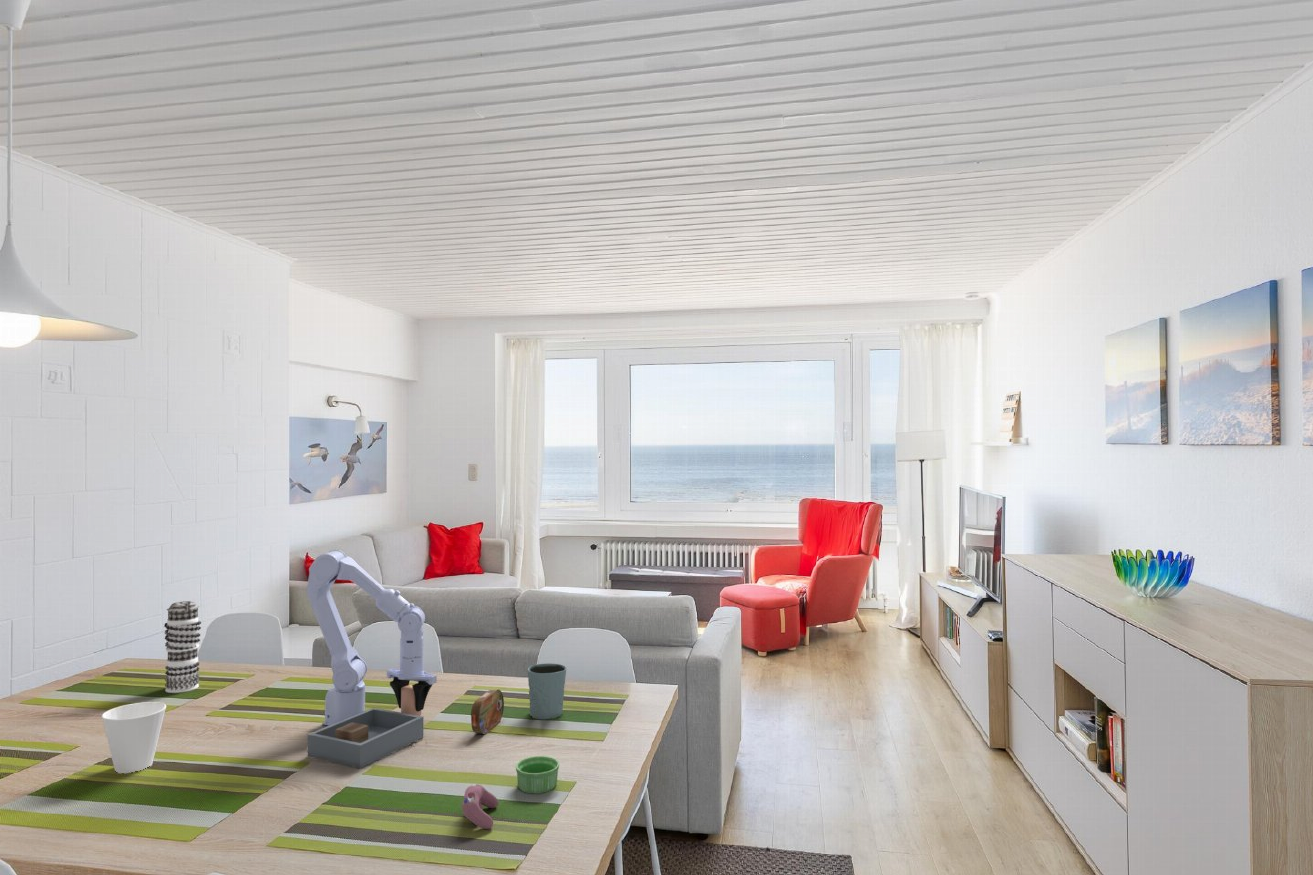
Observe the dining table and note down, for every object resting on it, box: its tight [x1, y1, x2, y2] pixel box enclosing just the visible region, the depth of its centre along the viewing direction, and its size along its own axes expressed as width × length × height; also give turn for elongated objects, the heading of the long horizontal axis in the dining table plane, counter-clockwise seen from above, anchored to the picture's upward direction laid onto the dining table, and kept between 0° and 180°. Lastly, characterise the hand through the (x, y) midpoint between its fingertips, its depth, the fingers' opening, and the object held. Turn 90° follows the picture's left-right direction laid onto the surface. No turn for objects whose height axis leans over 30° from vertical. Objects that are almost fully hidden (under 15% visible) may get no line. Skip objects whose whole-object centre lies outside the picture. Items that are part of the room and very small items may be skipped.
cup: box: [101, 701, 167, 774], centre depth 169 cm, size 12×12×12 cm
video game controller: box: [461, 782, 499, 830], centre depth 145 cm, size 10×5×7 cm, turn 6°
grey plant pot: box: [527, 662, 567, 720], centre depth 203 cm, size 10×10×12 cm
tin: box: [470, 689, 505, 735], centre depth 193 cm, size 15×3×8 cm, turn 168°
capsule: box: [400, 684, 422, 716], centre depth 198 cm, size 5×5×7 cm
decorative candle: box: [163, 600, 202, 694], centre depth 225 cm, size 9×9×25 cm
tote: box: [307, 707, 424, 769], centre depth 180 cm, size 16×20×5 cm
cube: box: [335, 722, 369, 743], centre depth 176 cm, size 5×5×5 cm
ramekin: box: [515, 755, 560, 794], centre depth 159 cm, size 9×9×4 cm
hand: (411, 708), depth 198 cm, fingers closed on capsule, 5 cm apart
